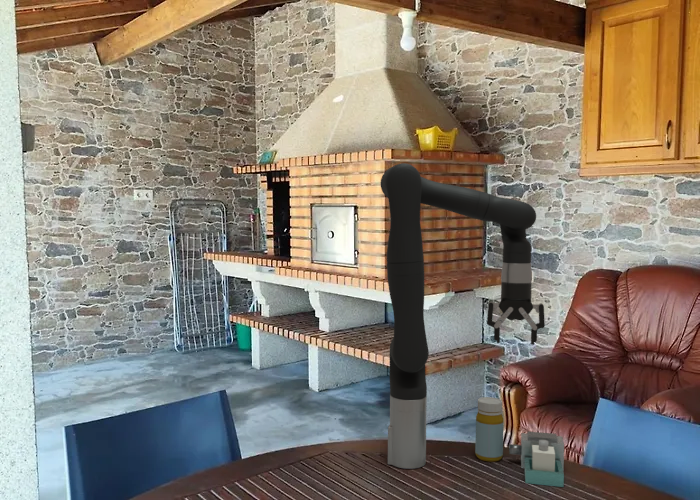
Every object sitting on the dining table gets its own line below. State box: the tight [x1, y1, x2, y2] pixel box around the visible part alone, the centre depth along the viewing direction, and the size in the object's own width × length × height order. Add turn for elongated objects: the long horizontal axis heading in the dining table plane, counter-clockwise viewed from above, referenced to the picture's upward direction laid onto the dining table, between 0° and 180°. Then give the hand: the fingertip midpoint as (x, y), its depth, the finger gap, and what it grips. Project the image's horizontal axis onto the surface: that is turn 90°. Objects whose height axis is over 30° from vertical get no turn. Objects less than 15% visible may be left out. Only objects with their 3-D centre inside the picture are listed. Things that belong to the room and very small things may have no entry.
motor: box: [508, 431, 565, 488], centre depth 153 cm, size 13×15×8 cm
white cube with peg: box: [532, 440, 555, 472], centre depth 149 cm, size 5×5×9 cm
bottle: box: [474, 396, 505, 463], centre depth 162 cm, size 7×7×15 cm
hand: (515, 343), depth 161 cm, fingers open, 8 cm apart
